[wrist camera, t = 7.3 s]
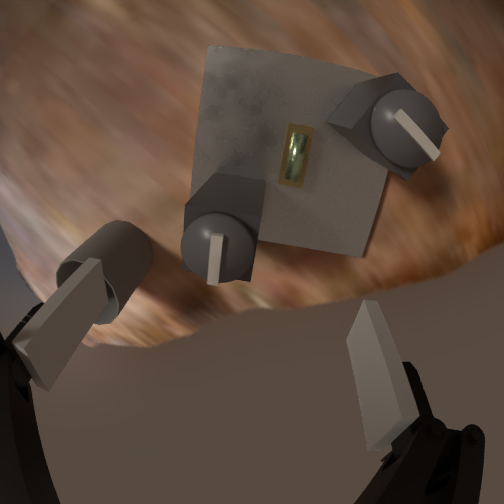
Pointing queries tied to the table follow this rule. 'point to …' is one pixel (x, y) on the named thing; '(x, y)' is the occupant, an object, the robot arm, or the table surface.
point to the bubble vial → (295, 155)
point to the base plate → (272, 143)
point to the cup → (113, 263)
